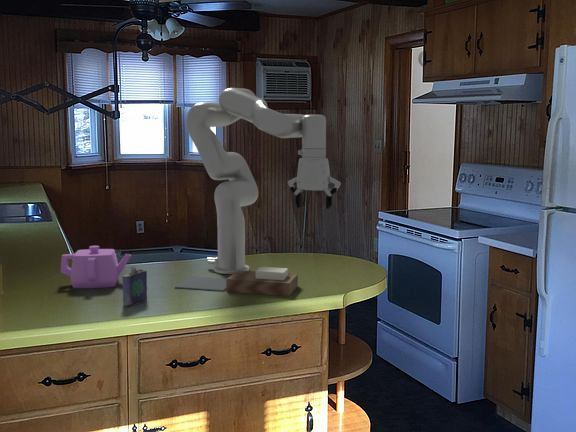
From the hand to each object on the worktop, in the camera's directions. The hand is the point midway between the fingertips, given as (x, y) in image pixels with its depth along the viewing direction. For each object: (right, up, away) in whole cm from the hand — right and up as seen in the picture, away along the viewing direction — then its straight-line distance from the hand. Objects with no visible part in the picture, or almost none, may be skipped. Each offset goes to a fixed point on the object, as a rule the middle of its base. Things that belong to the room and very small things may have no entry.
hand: (313, 207), depth 211 cm
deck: (-16, -26, -3) cm, 30 cm away
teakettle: (-70, -25, +3) cm, 75 cm away
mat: (-35, -25, +3) cm, 43 cm away
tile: (-13, -22, -4) cm, 26 cm away
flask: (-53, -28, -19) cm, 63 cm away
